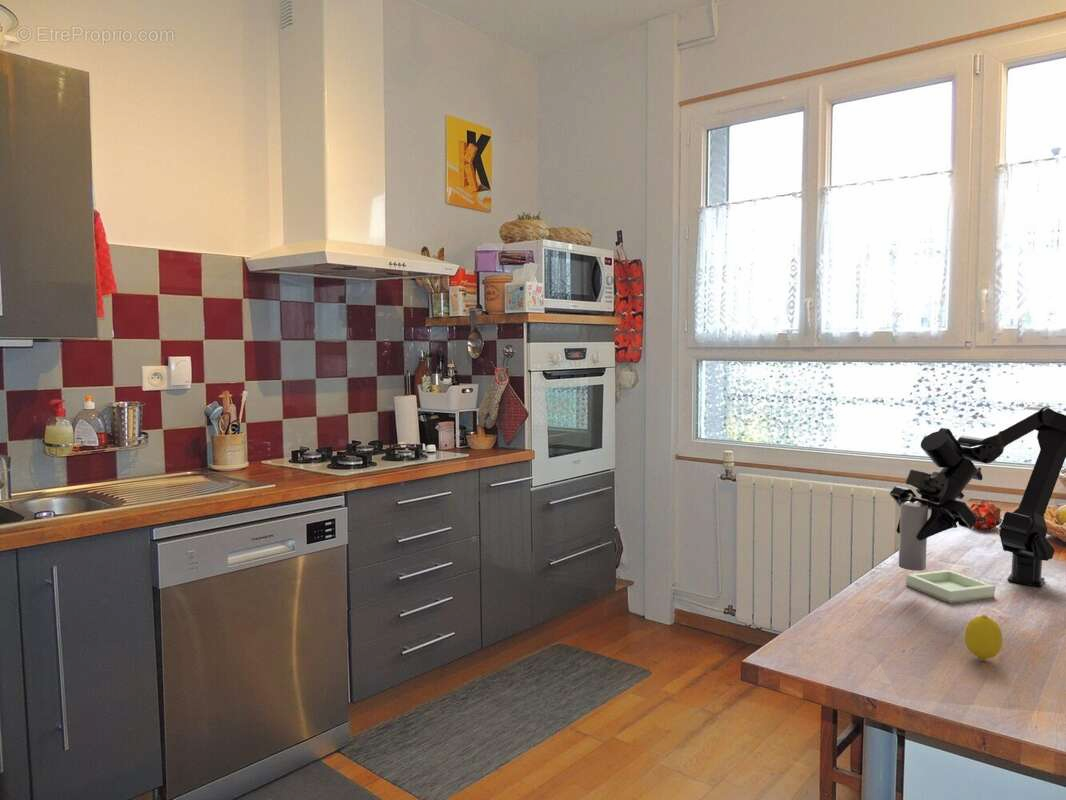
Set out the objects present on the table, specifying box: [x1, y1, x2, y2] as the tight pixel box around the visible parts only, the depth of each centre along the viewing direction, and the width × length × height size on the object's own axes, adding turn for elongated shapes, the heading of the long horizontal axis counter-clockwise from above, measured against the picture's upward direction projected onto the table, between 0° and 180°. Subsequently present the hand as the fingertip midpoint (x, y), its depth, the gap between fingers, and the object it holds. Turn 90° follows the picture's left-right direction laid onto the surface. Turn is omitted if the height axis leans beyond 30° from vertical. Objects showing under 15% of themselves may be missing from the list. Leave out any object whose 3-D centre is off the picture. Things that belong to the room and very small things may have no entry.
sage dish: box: [905, 569, 996, 604], centre depth 165 cm, size 12×12×2 cm
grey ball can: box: [898, 501, 929, 571], centre depth 161 cm, size 5×5×14 cm
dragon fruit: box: [969, 500, 1003, 531], centre depth 220 cm, size 8×8×12 cm
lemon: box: [964, 614, 1003, 662], centre depth 129 cm, size 6×6×8 cm
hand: (907, 535), depth 161 cm, fingers closed on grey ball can, 5 cm apart
